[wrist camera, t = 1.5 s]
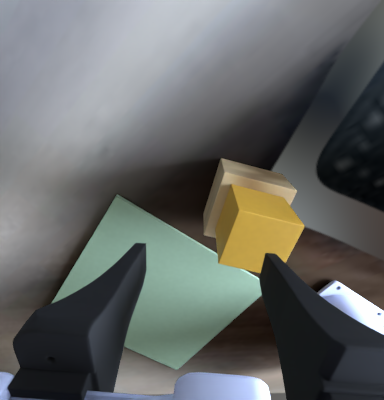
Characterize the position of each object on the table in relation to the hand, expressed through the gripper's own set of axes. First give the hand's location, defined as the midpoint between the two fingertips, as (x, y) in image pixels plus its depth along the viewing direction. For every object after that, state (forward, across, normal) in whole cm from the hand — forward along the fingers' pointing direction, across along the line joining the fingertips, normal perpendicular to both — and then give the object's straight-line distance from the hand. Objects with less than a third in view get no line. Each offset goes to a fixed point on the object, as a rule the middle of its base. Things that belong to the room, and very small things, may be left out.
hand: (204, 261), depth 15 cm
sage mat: (+10, +5, +14) cm, 18 cm away
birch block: (+10, -4, 0) cm, 11 cm away
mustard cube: (+6, -4, 0) cm, 7 cm away
